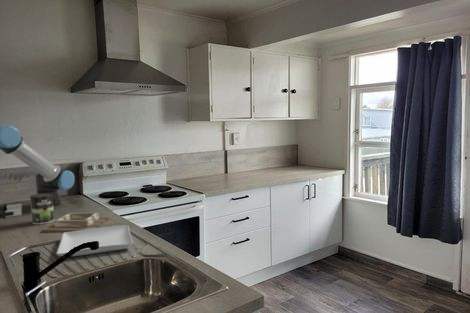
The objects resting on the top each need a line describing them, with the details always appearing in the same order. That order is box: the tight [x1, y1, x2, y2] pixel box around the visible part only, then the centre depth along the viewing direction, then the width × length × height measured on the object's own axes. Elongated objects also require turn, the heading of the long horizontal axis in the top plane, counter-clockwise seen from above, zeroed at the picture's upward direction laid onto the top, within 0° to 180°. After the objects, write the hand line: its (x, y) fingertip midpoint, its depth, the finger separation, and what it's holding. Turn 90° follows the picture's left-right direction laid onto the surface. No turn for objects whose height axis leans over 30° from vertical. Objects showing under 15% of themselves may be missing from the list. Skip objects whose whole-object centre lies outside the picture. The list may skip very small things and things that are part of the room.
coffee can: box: [29, 193, 55, 225], centre depth 185 cm, size 10×10×14 cm
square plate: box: [55, 224, 134, 258], centre depth 148 cm, size 27×27×4 cm
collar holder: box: [40, 211, 112, 233], centre depth 178 cm, size 24×24×4 cm
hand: (21, 209), depth 180 cm, fingers open, 13 cm apart
